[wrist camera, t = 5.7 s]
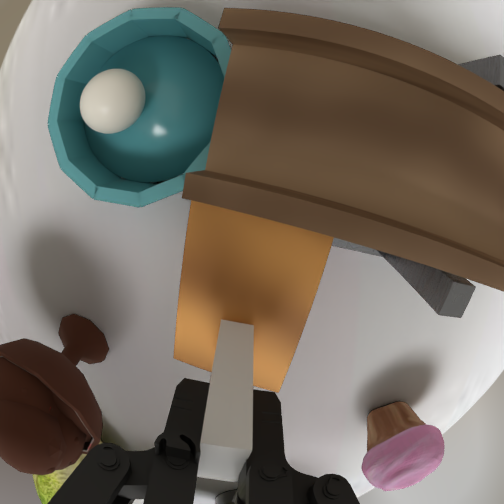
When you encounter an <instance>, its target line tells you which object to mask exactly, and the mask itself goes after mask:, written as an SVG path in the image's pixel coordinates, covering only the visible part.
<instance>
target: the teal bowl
mask: <svg viewBox="0 0 504 504" xmlns="http://www.w3.org/2000/svg"><path fill="white" fill-rule="evenodd" d="M186 38H187V39H186ZM189 39H190V40H189ZM230 54H231V48H230V46H229V43H228V41H227V38H226V36H225V35H224V34H223V33H222V32H221V31H220V30H218V29H216V28H215V27H213V26H212V25H210V24H209V23H207V22H206V21H204V20H202V19H201V18H199V17H198V16H196V15H194V14H193V13H191V12H189V11H188V10H186V9H184V8H183V9H182V8H174V7H166V8H138V9H132V10H129V11H127V12H125V13H123V14H121V15H119V16H117V17H115V18H113V19H112V20H110V21H108V22H106V23H105V24H103V25H101V26H99V27H98V28H96V29H94V30H93V31H91V32H90V33H88V34H87V36H85V37H84V38H83V39H82V41H81V42H80V43H79V45H78V46H77V47H76V49H75V50H74V51H73V53H72V54H71V56H70V57H69V58H68V60H67V61H66V63H65V64H64V66H63V67H62V69H61V70H60V72H59V73H58V75H57V76H58V77H56V81H55V85H54V90H53V95H52V100H51V105H50V111H49V117H48V124H49V125H48V129H49V132H50V136H51V140H52V143H53V147H54V150H55V153H56V157H57V160H58V163H59V166H60V168H61V170H62V171H63V172H64V173H65V174H66V175H67V176H68V177H70V178H71V179H72V180H73V181H74V182H75V183H76V184H77V185H78V186H79V187H80V188H81V189H82V190H83V191H85V192H86V193H87V194H88V195H89V196H90V197H91V198H92V199H94V200H100V201H105V202H111V203H117V204H123V205H128V206H134V207H143V206H146V205H148V204H151V203H153V202H156V201H158V200H161V199H163V198H166V197H168V196H171V195H173V194H176V193H179V192H181V191H183V188H184V181H185V175H186V173H188V172H195V171H202V170H205V168H206V163H207V158H208V152H209V147H210V142H211V137H212V132H213V127H214V123H215V118H216V113H217V109H218V104H219V100H220V95H221V91H222V87H223V82H224V78H225V74H226V70H227V66H228V62H229V58H230ZM212 55H213V56H215V57H216V58H217V59H218V61H219V63H218V62H217V60H216V59H215V58H214V57H213V56H212ZM219 64H220V65H219ZM109 69H124V70H127V71H130V72H132V73H133V74H135V75H136V76H137V77H138V78H139V79H140V81H141V82H142V84H143V86H144V89H145V96H146V97H145V105H144V108H143V111H142V113H141V115H140V116H139V118H138V119H137V120H136V121H135V122H134V123H133V124H132V125H131V126H130V127H128V128H127V129H125V130H123V131H120V132H117V133H112V134H105V133H100V132H97V131H95V130H93V129H91V128H90V127H89V126H88V125H87V124H86V123H85V121H84V120H83V118H82V116H81V112H80V98H81V95H82V92H83V90H84V88H85V86H86V85H87V83H88V82H89V81H90V80H91V79H92V78H93V77H94V76H96V75H97V74H99V73H101V72H103V71H106V70H109ZM183 173H184V174H183ZM180 174H181V175H180ZM178 175H179V176H178ZM121 177H122V178H121ZM124 178H125V179H124ZM168 179H169V180H168ZM164 180H166V181H164ZM159 181H164V182H161V183H159V184H157V183H151V182H159Z"/></svg>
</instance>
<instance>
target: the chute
mask: <svg viewBox="0 0 504 504" xmlns="http://www.w3.org/2000/svg"><path fill="white" fill-rule="evenodd" d="M218 28H219V29H220V30H221V31H222V33H223V34H224V35H225V36H226V37H227V38H228V39H229V41H230V42H231V43H232V44H233V46H232V50H231V54H230V58H229V62H228V66H227V70H226V74H225V78H224V82H223V87H222V91H221V95H220V100H219V104H218V109H217V113H216V118H215V123H214V127H213V132H212V137H211V142H210V147H209V152H208V158H207V163H206V168H205V170H202V171H195V172H188V173H186V175H185V181H184V188H183V194H182V198H184V199H188V200H191V206H190V212H189V219H188V226H187V233H186V240H185V248H184V255H183V263H182V272H181V281H180V290H179V299H178V310H177V320H176V332H175V345H174V359H177V360H180V361H182V362H185V363H187V364H190V365H193V366H195V367H198V368H201V369H204V370H207V371H209V372H212V367H213V361H214V356H215V350H216V345H217V339H218V334H219V329H220V323H221V319H222V320H228V321H233V322H238V323H244V324H249V325H254V349H253V386H256V387H260V388H263V389H267V390H270V391H274V392H278V393H279V391H280V388H281V386H282V383H283V381H284V378H285V376H286V373H287V371H288V368H289V366H290V363H291V361H292V358H293V356H294V353H295V350H296V348H297V345H298V342H299V340H300V337H301V334H302V332H303V329H304V326H305V323H306V321H307V318H308V315H309V312H310V309H311V306H312V304H313V301H314V298H315V295H316V292H317V289H318V286H319V283H320V280H321V277H322V274H323V271H324V268H325V264H326V261H327V258H328V255H329V252H330V248H331V245H332V242H333V238H338V239H341V240H345V241H348V242H352V243H355V244H359V245H362V246H365V247H369V248H372V249H375V250H379V251H382V252H385V253H389V254H392V255H395V256H398V257H402V258H405V259H408V260H411V261H414V262H418V263H421V264H424V265H427V266H430V267H433V268H436V269H439V270H442V271H445V272H448V273H452V274H455V275H458V276H460V277H463V278H466V279H469V280H472V281H475V282H478V283H481V284H484V285H487V286H490V287H492V288H495V289H498V290H501V291H504V91H503V90H501V89H500V88H498V87H496V86H495V85H493V84H492V83H490V82H488V81H487V80H485V79H483V78H481V77H480V76H478V75H476V74H474V73H473V72H471V71H469V70H467V69H465V68H463V67H461V66H459V65H457V64H455V63H453V62H451V61H449V60H447V59H445V58H443V57H441V56H439V55H436V54H434V53H432V52H430V51H427V50H425V49H422V48H420V47H418V46H415V45H412V44H410V43H407V42H405V41H402V40H399V39H396V38H393V37H390V36H387V35H384V34H381V33H378V32H375V31H372V30H368V29H365V28H361V27H357V26H354V25H350V24H346V23H341V22H337V21H333V20H328V19H323V18H318V17H312V16H307V15H300V14H294V13H286V12H278V11H268V10H256V9H238V8H224V11H223V14H222V17H221V21H220V24H219V27H218Z"/></svg>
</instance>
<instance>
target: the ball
mask: <svg viewBox="0 0 504 504" xmlns="http://www.w3.org/2000/svg"><path fill="white" fill-rule="evenodd" d="M145 97H146V96H145V89H144V86H143V84H142V82H141V81H140V79H139V78H138V77H137V76H136V75H135V74H133V73H132V72H130V71H127V70H124V69H109V70H106V71H103V72H101V73H99V74H97V75H96V76H94V77H93V78H92V79H91V80H90V81H89V82H88V83H87V85H86V86H85V88H84V90H83V92H82V95H81V98H80V112H81V116H82V118H83V120H84V121H85V123H86V124H87V125H88V126H89V127H90V128H91V129H93V130H95V131H97V132H100V133H105V134H112V133H117V132H120V131H123V130H125V129H127V128H128V127H130V126H131V125H132V124H133V123H134V122H135V121H136V120H137V119H138V118H139V116H140V115H141V113H142V111H143V108H144V105H145Z"/></svg>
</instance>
